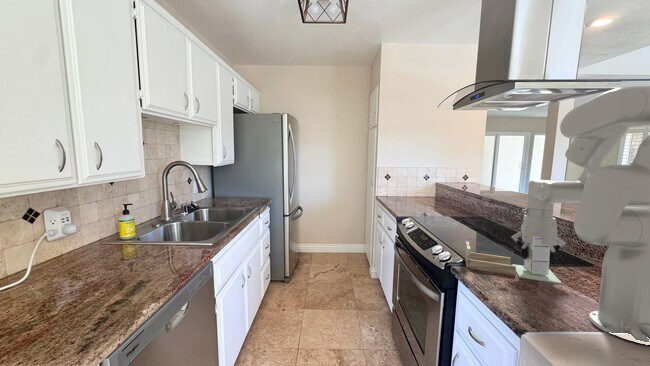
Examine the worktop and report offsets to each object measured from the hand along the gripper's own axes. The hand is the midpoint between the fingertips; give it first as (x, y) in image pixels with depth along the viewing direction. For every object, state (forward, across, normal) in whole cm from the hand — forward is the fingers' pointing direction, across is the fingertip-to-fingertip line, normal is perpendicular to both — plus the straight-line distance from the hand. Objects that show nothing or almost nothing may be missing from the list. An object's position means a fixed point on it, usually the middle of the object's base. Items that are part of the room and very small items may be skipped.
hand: (536, 259), depth 96 cm
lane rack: (+6, -15, 0) cm, 16 cm away
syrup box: (+5, 0, 0) cm, 5 cm away
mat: (+6, 0, 0) cm, 6 cm away
